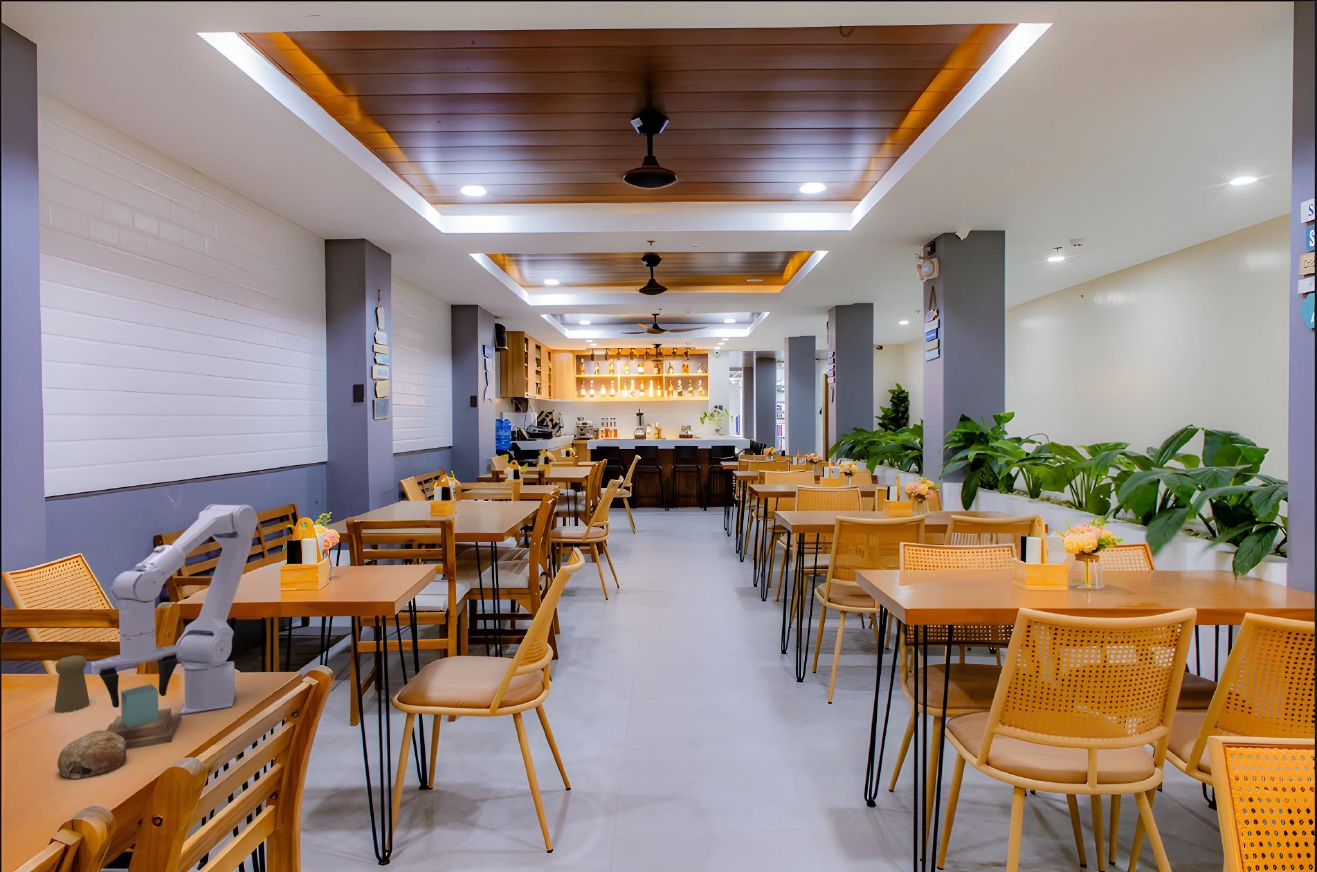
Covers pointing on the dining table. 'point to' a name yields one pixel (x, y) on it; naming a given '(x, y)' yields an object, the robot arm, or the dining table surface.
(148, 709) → the teal block
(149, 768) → the dining table surface
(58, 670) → the cork
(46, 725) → the dining table surface
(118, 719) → the walnut stand
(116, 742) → the brown rounded lump
